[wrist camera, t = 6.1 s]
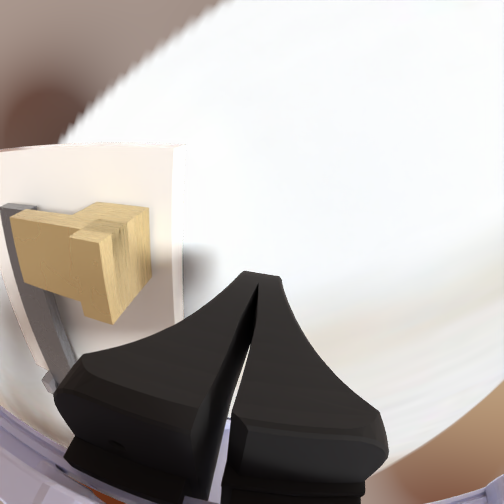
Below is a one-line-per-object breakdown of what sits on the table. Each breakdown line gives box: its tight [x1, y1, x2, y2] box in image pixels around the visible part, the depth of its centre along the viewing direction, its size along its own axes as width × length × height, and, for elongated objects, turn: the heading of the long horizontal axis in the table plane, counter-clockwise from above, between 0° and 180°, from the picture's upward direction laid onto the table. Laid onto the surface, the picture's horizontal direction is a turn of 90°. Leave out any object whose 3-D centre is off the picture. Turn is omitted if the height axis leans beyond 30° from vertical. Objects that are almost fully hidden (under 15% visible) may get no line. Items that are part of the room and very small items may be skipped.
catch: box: [10, 202, 152, 325], centre depth 12 cm, size 4×6×4 cm, turn 84°
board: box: [0, 143, 186, 394], centre depth 16 cm, size 20×16×4 cm
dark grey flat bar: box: [0, 203, 76, 389], centre depth 16 cm, size 16×3×1 cm, turn 174°
